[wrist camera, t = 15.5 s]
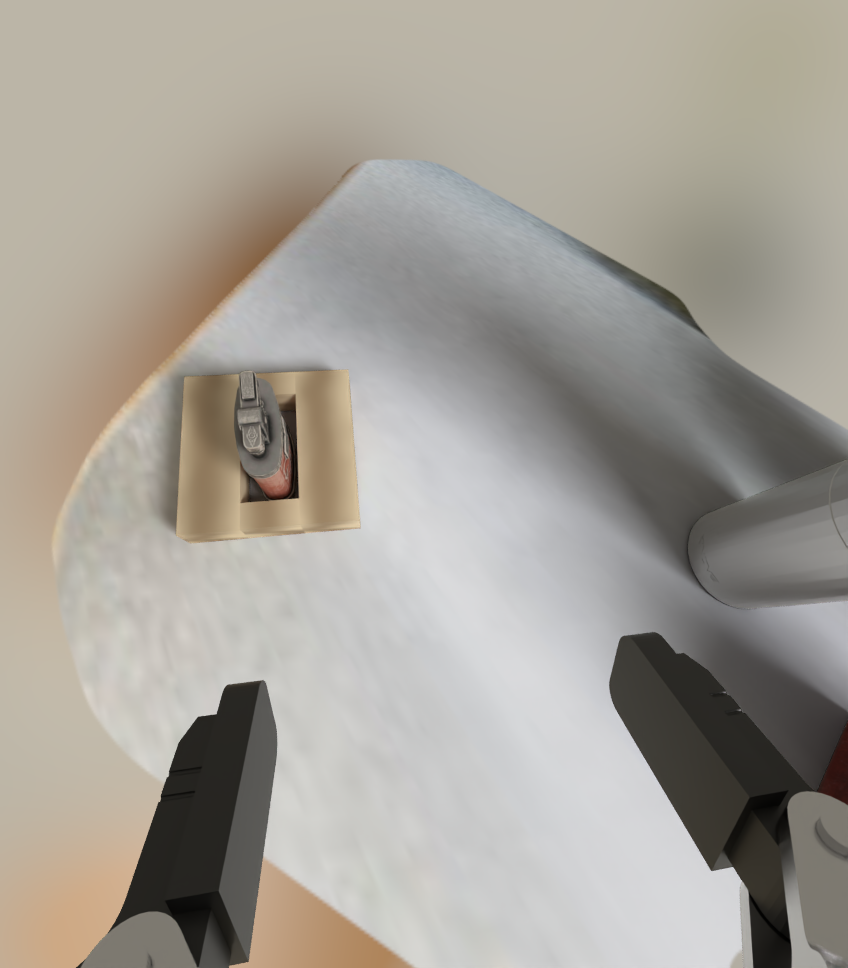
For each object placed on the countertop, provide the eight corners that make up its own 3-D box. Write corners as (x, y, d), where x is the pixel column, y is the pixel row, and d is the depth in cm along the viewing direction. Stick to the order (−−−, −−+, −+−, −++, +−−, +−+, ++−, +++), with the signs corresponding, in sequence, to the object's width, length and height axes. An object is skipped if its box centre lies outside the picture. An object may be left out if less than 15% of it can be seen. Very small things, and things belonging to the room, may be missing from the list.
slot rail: (349, 386, 45) (348, 369, 42) (360, 528, 40) (359, 519, 37) (196, 394, 43) (184, 376, 40) (190, 543, 38) (175, 535, 36)
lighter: (301, 501, 40) (279, 459, 31) (261, 507, 40) (226, 465, 31) (292, 419, 43) (269, 356, 34) (254, 423, 42) (220, 361, 33)
